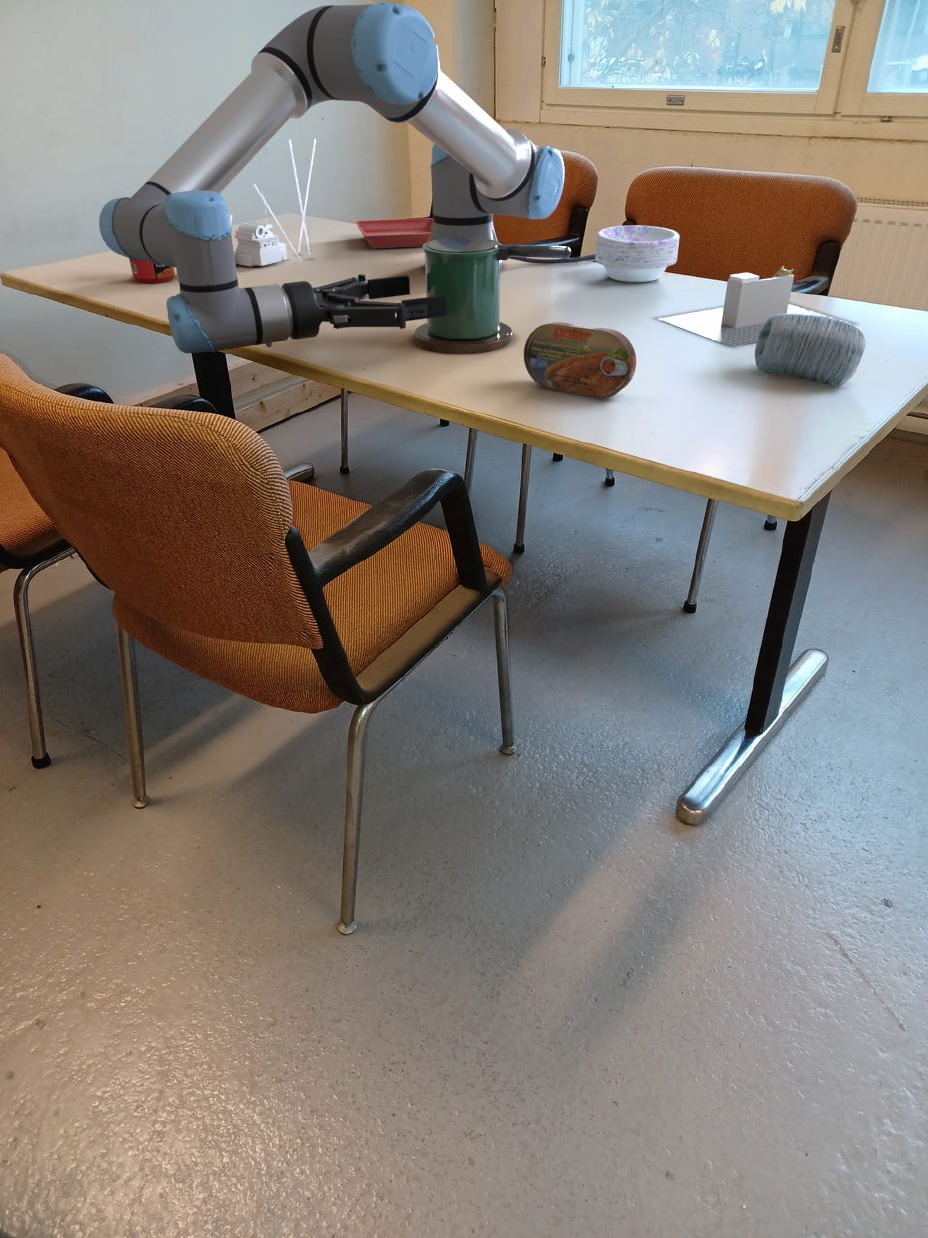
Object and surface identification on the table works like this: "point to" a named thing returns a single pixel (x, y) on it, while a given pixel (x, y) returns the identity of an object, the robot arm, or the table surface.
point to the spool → (809, 348)
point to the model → (743, 309)
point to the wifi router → (267, 234)
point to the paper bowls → (636, 252)
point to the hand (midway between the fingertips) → (426, 294)
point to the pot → (472, 282)
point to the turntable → (463, 341)
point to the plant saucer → (396, 232)
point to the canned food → (151, 272)
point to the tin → (580, 359)
